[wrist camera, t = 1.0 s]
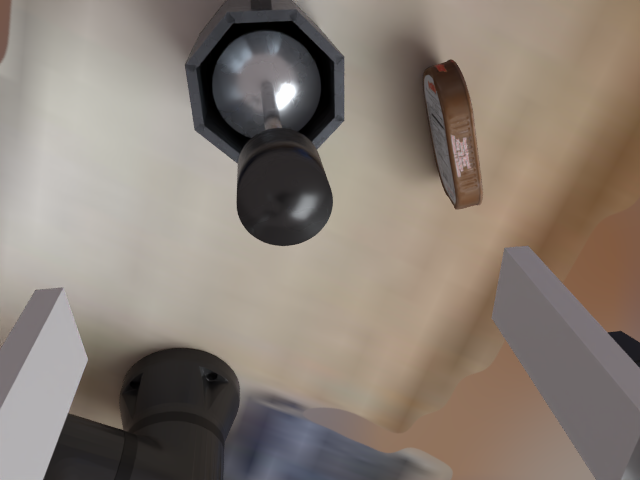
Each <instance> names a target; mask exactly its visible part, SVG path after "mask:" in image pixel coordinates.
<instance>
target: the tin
mask: <svg viewBox="0 0 640 480" xmlns="http://www.w3.org/2000/svg"><path fill="white" fill-rule="evenodd" d="M423 89H424V97H425V102H426V108H427V115H428V121H429V127H430V133H431V139H432V144H433V149H434V154H435V160H436V164H437V168H438V172H439V176H440V179H441V183H442V186H443V188H444V191H445V193H446V195H447V196H448V197H449V199H450V200H451V202H452V204H453V205H454V208H455V209H463V208H466V207H470V206H474V205H480V204H481V203H482V199H483V188H482V179H481V171H480V163H479V156H478V148H477V140H476V132H475V124H474V116H473V109H472V104H471V100H470V96H469V92H468V89H467V85H466V82H465V80H464V77H463V75H462V72H461V70H460V68H459V67H458V65H457V64H456V62H455V61H453V60H448V61H447V62H444V63H441V64H438V65H434V66H431V67H429V68H427V69H426V70H425V72H424V75H423Z"/></svg>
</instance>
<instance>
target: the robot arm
mask: <svg viewBox="0 0 640 480" xmlns="http://www.w3.org/2000/svg"><path fill="white" fill-rule="evenodd" d="M492 319H493V321H494V322H495V324H496V325H497V327H498V328H499V330H500V332H501V333H502V335H503V336H504V338H505V339H506V341H507V342H508V344H509V345H510V347H511V349H512V350H513V352H514V353H515V355H516V356H517V358H518V359H519V361H520V363H521V364H522V366H523V367H524V369H525V370H526V372H527V373H528V375H529V377H530V378H531V380H532V381H533V383H534V384H535V386H536V387H537V389H538V390H539V392H540V394H541V395H542V396H543V398H544V400H545V401H546V403H547V404H548V406H549V408H550V409H551V411H552V412H553V414H554V415H555V417H556V418H557V420H558V421H559V423H560V425H561V426H562V428H563V429H564V431H565V432H566V434H567V435H568V437H569V439H570V440H571V442H572V443H573V445H574V446H575V448H576V449H577V451H578V453H579V454H580V456H581V457H582V459H583V460H584V461H585V463H586V465H587V466H588V468H589V470H590V471H591V473H592V474H593V476H594V477H595V479H596V480H640V343H639V342H638V341H636V340H635V339H633V338H631V337H630V336H628V335H627V334H625V333H623V332H622V331H617V332H608V333H607V332H606V331H605V330H604V328H603V327H602V326H601V325H600V324H599V323H598V322H597V321H596V320H595V319H594V318H593V316H592V315H590V313H589V312H588V311H587V310H586V309H585V308H584V307H583V305H582V304H581V303H580V302H579V301H578V300H577V299H576V298H575V297H574V296H573V295H572V293H571V292H570V291H569V290H568V289H567V288H566V287H565V286H564V285H563V284H562V282H561V281H560V280H559V279H558V278H557V277H556V276H555V275H554V274H553V273H552V271H551V270H550V269H549V268H548V267H547V266H546V265H545V264H544V263H543V262H542V261H541V259H540V258H539V257H538V256H537V255H536V254H535V253H534V252H533V251H532V250H531V248H530V247H529V246H521V247H510V248H504V253H503V259H502V264H501V270H500V275H499V281H498V287H497V292H496V298H495V303H494V309H493V314H492ZM87 361H88V358H87V355H86V352H85V349H84V346H83V343H82V340H81V337H80V334H79V331H78V328H77V326H76V323H75V320H74V317H73V314H72V311H71V308H70V305H69V302H68V299H67V296H66V293H65V290H64V288H53V289H42V290H35V292H34V294H33V295H32V297H31V299H30V300H29V302H28V304H27V305H26V307H25V309H24V310H23V312H22V314H21V315H20V317H19V319H18V320H17V322H16V324H15V325H14V327H13V329H12V330H11V332H10V334H9V336H8V337H7V339H6V341H5V342H4V344H3V346H2V347H1V349H0V480H223V472H224V442H225V440H226V438H227V435H228V433H229V431H230V428H231V426H232V424H233V422H234V419H235V417H236V415H237V412H238V408H239V402H240V386H239V382H238V379H237V377H236V375H235V373H234V372H233V370H232V369H231V368H230V367H229V366H228V365H227V364H226V363H225V362H223V361H222V360H221V359H219V358H217V357H215V356H213V355H211V354H209V353H206V352H202V351H198V350H193V349H169V350H164V351H160V352H156V353H153V354H151V355H149V356H147V357H145V358H143V359H141V360H140V361H139V362H137V363H136V364H135V365H134V366H133V367H132V368H131V369H130V370H129V371H128V373H127V375H126V376H125V379H124V382H123V385H122V389H121V393H120V399H119V406H120V413H121V419H122V425H123V430H121V429H118V428H114V427H111V426H108V425H105V424H102V423H98V422H95V421H92V420H89V419H85V418H82V417H79V416H76V415H73V414H69V413H68V412H69V409H70V406H71V404H72V401H73V398H74V396H75V393H76V390H77V388H78V385H79V382H80V380H81V377H82V374H83V372H84V369H85V366H86V364H87Z"/></svg>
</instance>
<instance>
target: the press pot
mask: <svg viewBox="0 0 640 480" xmlns="http://www.w3.org/2000/svg"><path fill="white" fill-rule="evenodd" d="M255 30H275V31H279V32H283V33H285V34H287V35H290V36H292V37H293V38H295V39H296V40H298V41H299V42H300V43H301V44H302V45H303V46H304V47H305V48H306V49H307V50H308V52H309V53H310V54H311V56H312V58H313V59H314V61H315V63H316V66H317V68H318V71H319V75H320V82H321V93H320V99H319V103H318V106H317V108H316V110H315V113H314V114H313V116H312V117H311V119H310V120H309V121H308V123H307V124H306V125H305V126H304V127H303V128H301V129H300V130H299V131H297V132H299V133H301V134H303V135H304V136H306V137H307V138H308V139H309V140H310V141H311V142H312V143H313V144H314V146H315V148H316V149H318V148H319V147H320V146H321V145H322V144H323V142H324V141H325V140H326V139H327V138H328V137H329V136H330V135H331V134H332V133H333V132H334V131H335V130H336V129H337V128H338V127H339V126H340V125H341V123H342V122H343V121H344V56H343V55H342V54H341V53H340V51H339V50H338V49H337V48H336V47H335V46H334V44H333V43H332V42H331V41H330V40H329V39H328V37H327V36H326V35H325V34H324V33H323V32H322V30H321V29H320V28H319V27H318V26H317V25H316V24H315V23H314V22H313V21H312V20H311V19H310V18H309V17H308V16H307V15H306V14H305V13H304V12H303V11H302V10H301V9H300V8H299V7H298V6H297V5H296V4H295V3H294V2H293V1H292V0H226V1H225V3H224V4H223V5H222V6H221V8H220V9H219V10H218V11H217V13H216V14H215V15H214V17H213V18H212V19H211V20H210V22H209V23H208V24H207V25H206V27H205V28H204V29H203V31H202V32H201V33H200V34H199V37H198V39H197V41H196V43H195V45H194V47H193V49H192V51H191V53H190V55H189V58H188V60H187V62H186V64H185V69H186V75H187V82H188V88H189V95H190V102H191V108H192V115H193V122H194V128H195V131H197V132H198V133H199V134H201V135H202V136H203V137H204V138H206V139H207V140H208V141H209V142H211V143H212V144H213V145H215V146H216V147H217V148H218V149H220V150H221V151H222V152H224V153H225V154H226V155H227V156H229V157H230V158H231V159H233V160H234V161H235V162H236V163H238V160H239V156H240V153H241V151H242V149H243V147H244V146H245V145H246V143H247V142H248V141H249V140H250V139H251V138H250V137H247V136H245V135H243V134H241V133H239V132H238V131H236V130H235V129H233V128H232V127H231V126H230V125H229V124H228V123H227V122H226V121H225V119H224V118H223V117H222V115H221V114H220V112H219V110H218V108H217V106H216V103H215V100H214V96H213V87H212V82H213V74H214V69H215V66H216V63H217V60H218V59H219V57H220V55H221V53H222V52H223V50H224V49H225V48H226V47H227V46H228V45H229V43H231V42H232V41H233V40H234V39H236V38H237V37H239V36H241V35H243V34H245V33H248V32H251V31H255ZM309 38H310V39H311V40H312V43H311V41H310V39H309ZM211 50H212V51H211ZM210 51H211V55H210Z"/></svg>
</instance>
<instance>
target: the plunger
mask: <svg viewBox="0 0 640 480" xmlns="http://www.w3.org/2000/svg"><path fill="white" fill-rule="evenodd" d="M212 87H213V96H214V100H215V103H216V106H217V108H218V110H219V112H220V114H221V115H222V117H223V118H224V119H225V121H226V122H227V123H228V124H229V125H230V126H231V127H232V128H233V129H235V130H236V131H238V132H239V133H241V134H243V135H245V136H247V137H250V138H251V139H250V140H249V141H248V142H247V143H246V145H245V146H244V147H243V149H242V151H241V153H240V156H239V160H238V174H237V211H238V215H239V218H240V220H241V222H242V224H243V226H244V227H245V228H246V230H247V231H248V232H249V233H250V234H251V235H253V236H254V237H255V238H257V239H259V240H261V241H263V242H265V243H268V244H272V245H278V246H289V245H295V244H299V243H302V242H304V241H307V240H308V239H310V238H312V237H313V236H315V235H316V234H317V233H318V232H320V230H321V229H322V228H323V227H324V226H325V224H326V223H327V221H328V219H329V217H330V214H331V211H332V206H333V197H332V192H331V188H330V185H329V182H328V180H327V177H326V174H325V171H324V168H323V165H322V162H321V159H320V157H319V154H318V151H317V149H316V148H315V146H314V144H313V143H312V142H311V141H310V140H309V139H308V138H307V137H306V136H304V135H303V134H301V133H299V132H297V131H299V130H300V129H301V128H303V127H304V126H305V125H306V124H307V123H308V121H309V120H310V119H311V117H312V116H313V114H314V113H315V110H316V108H317V106H318V103H319V99H320V93H321V82H320V75H319V71H318V68H317V66H316V63H315V61H314V59H313V58H312V56H311V54H310V53H309V52H308V50H307V49H306V48H305V47H304V46H303V45H302V44H301V43H300V42H299V41H298V40H296V39H295V38H293V37H292V36H290V35H287V34H285V33H283V32H279V31H275V30H255V31H251V32H248V33H245V34H243V35H241V36H239V37H237V38H236V39H234V40H233V41H232V42H231V43H229V45H228V46H227V47H226V48H225V49H224V50H223V52H222V53H221V55H220V57H219V59H218V60H217V63H216V66H215V69H214V74H213V82H212Z"/></svg>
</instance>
